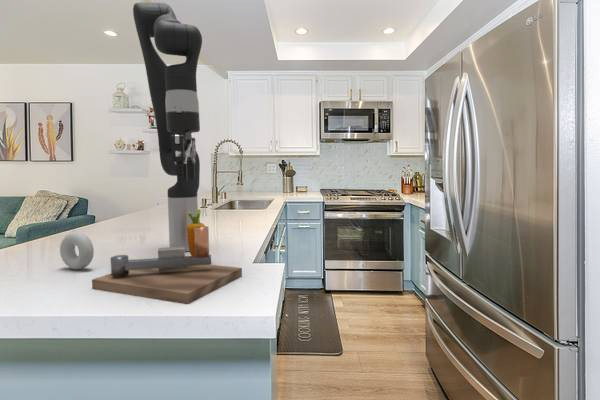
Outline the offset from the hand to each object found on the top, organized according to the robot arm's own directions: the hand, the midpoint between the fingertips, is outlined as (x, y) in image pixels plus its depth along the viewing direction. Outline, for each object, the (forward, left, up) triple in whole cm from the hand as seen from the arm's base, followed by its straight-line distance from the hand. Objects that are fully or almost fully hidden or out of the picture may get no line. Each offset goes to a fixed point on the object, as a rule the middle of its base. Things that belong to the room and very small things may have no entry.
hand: (186, 179), depth 89 cm
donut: (+6, -31, -24) cm, 40 cm away
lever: (+7, -2, -21) cm, 22 cm away
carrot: (-10, -5, -24) cm, 26 cm away
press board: (+6, 0, -24) cm, 24 cm away
